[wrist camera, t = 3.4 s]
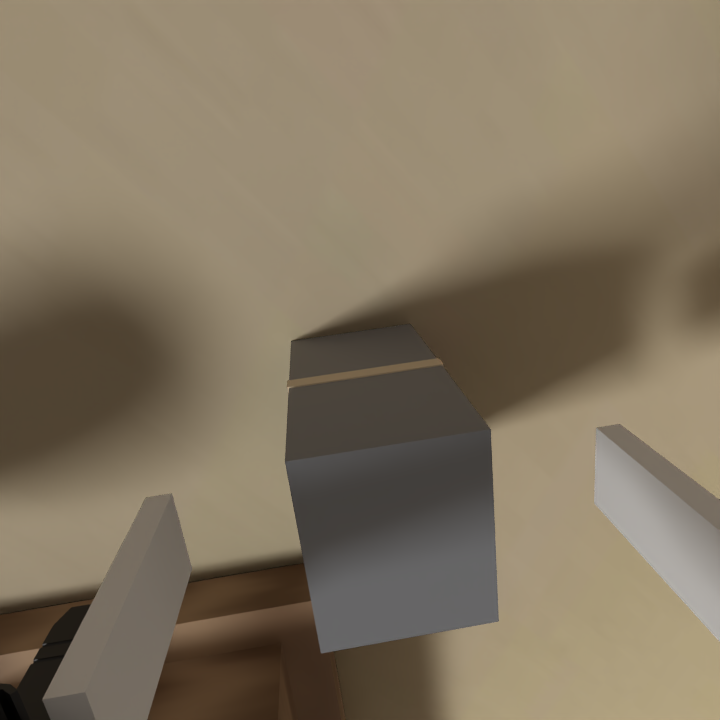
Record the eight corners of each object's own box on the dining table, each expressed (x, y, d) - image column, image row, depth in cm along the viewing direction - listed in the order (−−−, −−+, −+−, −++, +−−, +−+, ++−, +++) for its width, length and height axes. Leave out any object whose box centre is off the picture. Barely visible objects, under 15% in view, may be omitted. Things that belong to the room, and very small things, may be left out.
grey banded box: (311, 468, 24) (319, 655, 15) (289, 340, 22) (282, 460, 13) (423, 450, 24) (500, 622, 15) (411, 322, 22) (492, 426, 13)
